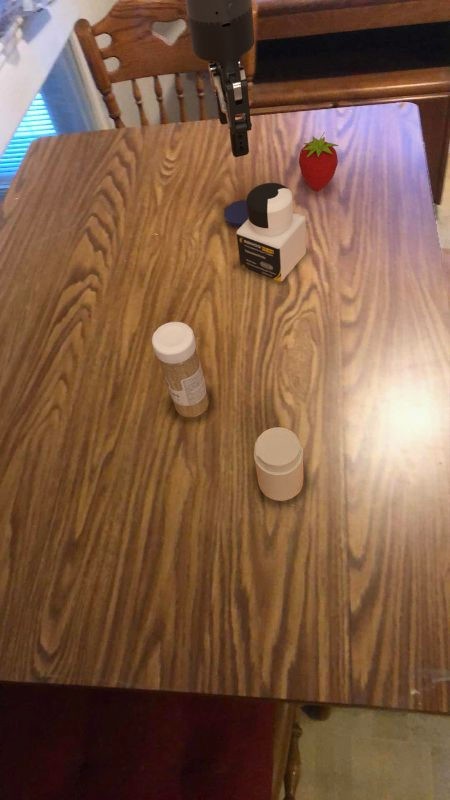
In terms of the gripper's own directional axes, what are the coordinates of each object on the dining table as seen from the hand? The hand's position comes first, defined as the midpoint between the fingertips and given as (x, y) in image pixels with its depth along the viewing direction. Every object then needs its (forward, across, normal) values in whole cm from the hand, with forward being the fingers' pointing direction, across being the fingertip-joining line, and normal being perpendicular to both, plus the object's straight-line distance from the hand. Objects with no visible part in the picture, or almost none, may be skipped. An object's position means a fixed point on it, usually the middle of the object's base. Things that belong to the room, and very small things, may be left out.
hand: (234, 138), depth 78 cm
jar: (+14, +46, -6) cm, 48 cm away
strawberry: (+14, -3, +13) cm, 20 cm away
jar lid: (+13, 0, 0) cm, 13 cm away
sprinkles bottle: (+14, +33, -14) cm, 38 cm away
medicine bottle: (+14, +11, +2) cm, 18 cm away
